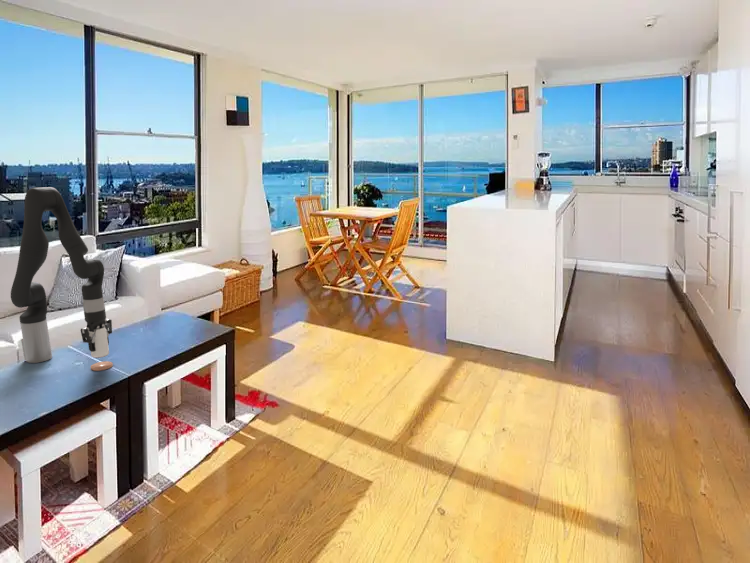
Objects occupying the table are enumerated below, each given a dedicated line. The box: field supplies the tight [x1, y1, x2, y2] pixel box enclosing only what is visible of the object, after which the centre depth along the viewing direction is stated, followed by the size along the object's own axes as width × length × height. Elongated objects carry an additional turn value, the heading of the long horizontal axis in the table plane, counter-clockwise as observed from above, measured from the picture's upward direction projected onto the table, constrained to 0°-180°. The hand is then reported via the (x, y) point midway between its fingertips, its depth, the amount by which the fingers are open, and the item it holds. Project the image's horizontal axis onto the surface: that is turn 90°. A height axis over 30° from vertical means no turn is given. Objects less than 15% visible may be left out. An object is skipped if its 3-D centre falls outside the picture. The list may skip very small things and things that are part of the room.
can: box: [89, 326, 110, 359], centre depth 203 cm, size 6×6×12 cm
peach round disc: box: [90, 360, 114, 372], centre depth 206 cm, size 8×8×1 cm
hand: (99, 348), depth 204 cm, fingers closed on can, 6 cm apart
